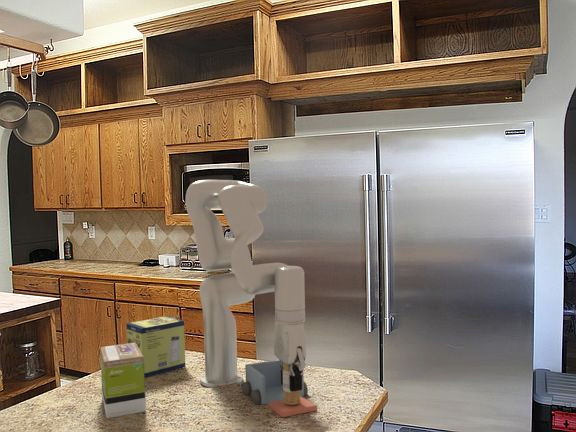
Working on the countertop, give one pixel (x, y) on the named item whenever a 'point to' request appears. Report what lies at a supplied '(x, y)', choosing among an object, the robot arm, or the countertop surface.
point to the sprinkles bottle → (289, 396)
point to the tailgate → (292, 407)
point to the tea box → (122, 380)
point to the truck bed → (266, 382)
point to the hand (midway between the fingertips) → (291, 386)
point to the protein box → (159, 343)
